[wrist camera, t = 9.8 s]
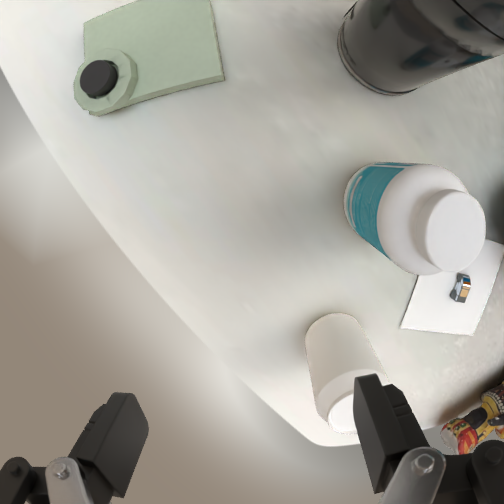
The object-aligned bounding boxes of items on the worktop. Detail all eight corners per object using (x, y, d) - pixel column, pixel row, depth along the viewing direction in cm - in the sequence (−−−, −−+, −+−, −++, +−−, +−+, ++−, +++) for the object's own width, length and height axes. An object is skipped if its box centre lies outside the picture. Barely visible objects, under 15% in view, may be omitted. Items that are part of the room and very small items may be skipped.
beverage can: (368, 314, 31) (411, 386, 19) (348, 362, 32) (375, 440, 21) (314, 303, 31) (337, 379, 19) (296, 353, 32) (307, 436, 21)
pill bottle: (359, 252, 29) (421, 317, 16) (328, 182, 27) (381, 201, 14) (422, 219, 28) (509, 259, 15) (395, 149, 26) (482, 147, 13)
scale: (208, -11, 22) (202, -28, 19) (225, 85, 25) (220, 75, 22) (87, 30, 23) (71, 20, 20) (94, 123, 26) (76, 120, 23)
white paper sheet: (505, 245, 28) (513, 249, 26) (472, 335, 31) (478, 341, 30) (434, 222, 27) (441, 225, 26) (399, 328, 31) (404, 334, 29)
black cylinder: (116, 58, 22) (108, 54, 20) (119, 89, 22) (111, 86, 21) (86, 71, 22) (78, 67, 20) (89, 101, 23) (80, 98, 21)
